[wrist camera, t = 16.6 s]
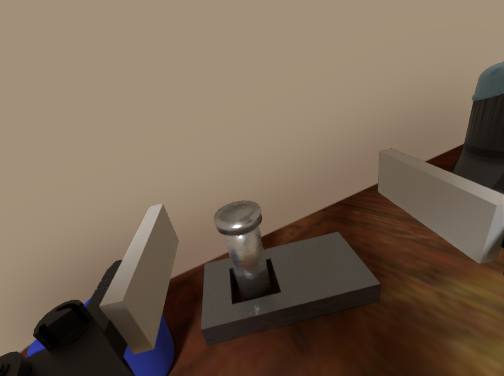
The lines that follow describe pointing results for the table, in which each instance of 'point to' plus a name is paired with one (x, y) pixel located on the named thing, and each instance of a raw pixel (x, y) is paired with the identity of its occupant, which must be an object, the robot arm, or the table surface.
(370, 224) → the table surface
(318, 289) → the jig
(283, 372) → the table surface
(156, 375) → the mug
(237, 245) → the silver metal peg
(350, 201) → the table surface
